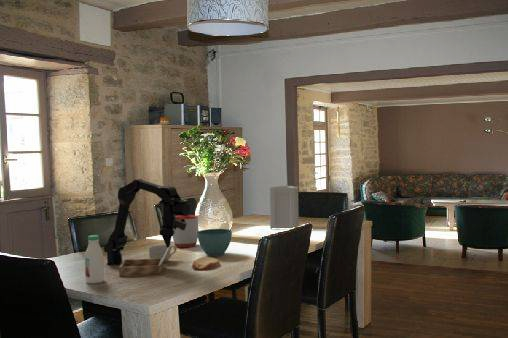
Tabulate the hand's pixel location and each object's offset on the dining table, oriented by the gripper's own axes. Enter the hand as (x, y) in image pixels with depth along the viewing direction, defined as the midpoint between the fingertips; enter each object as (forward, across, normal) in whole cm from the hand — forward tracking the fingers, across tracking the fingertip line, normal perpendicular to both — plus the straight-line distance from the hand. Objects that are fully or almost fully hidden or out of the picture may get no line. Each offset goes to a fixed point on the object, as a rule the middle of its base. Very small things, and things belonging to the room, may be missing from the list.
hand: (168, 247), depth 251 cm
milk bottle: (+12, -16, +30) cm, 36 cm away
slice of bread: (+11, +7, -17) cm, 21 cm away
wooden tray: (+11, 0, +12) cm, 16 cm away
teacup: (+11, +19, +4) cm, 22 cm away
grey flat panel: (+2, 0, +1) cm, 3 cm away
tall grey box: (+8, +111, -70) cm, 131 cm away
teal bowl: (+10, +31, -22) cm, 39 cm away
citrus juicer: (+11, +57, -5) cm, 58 cm away
